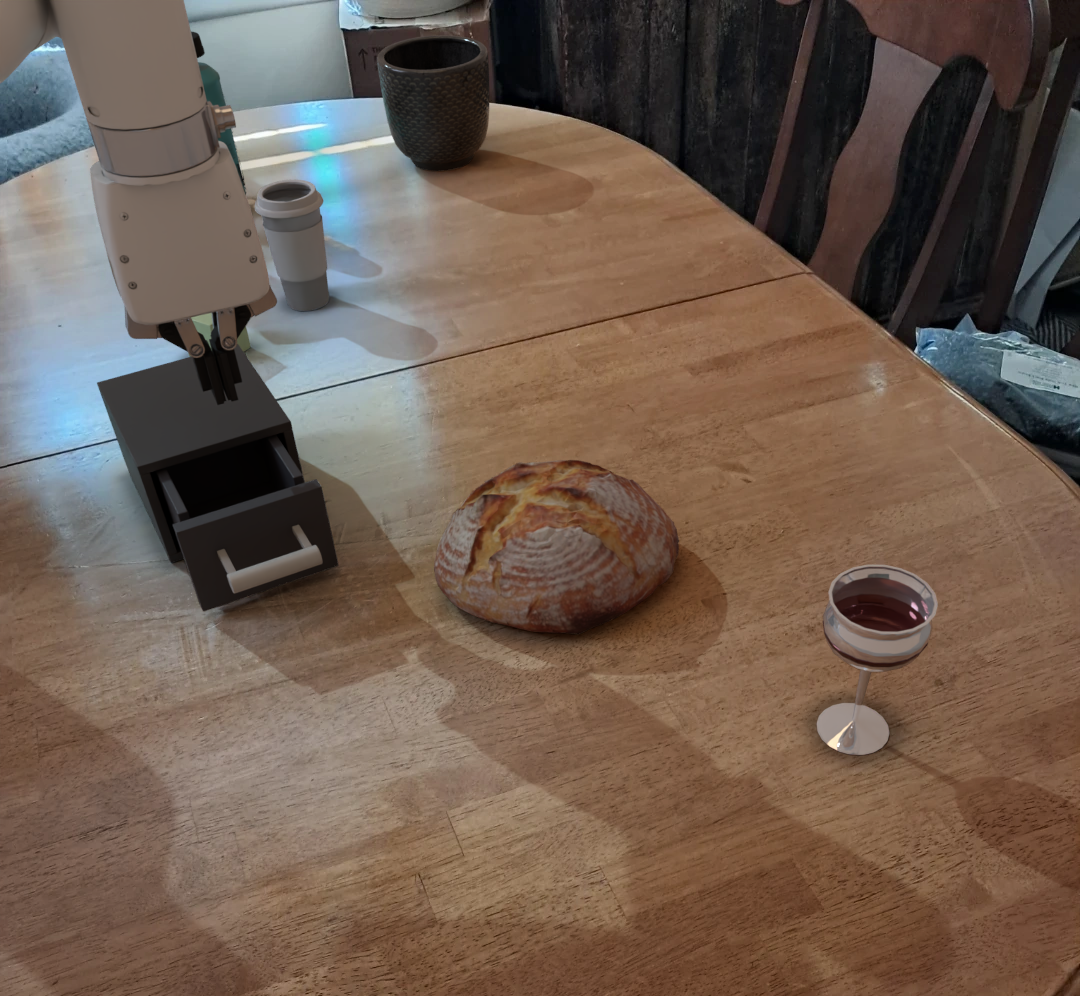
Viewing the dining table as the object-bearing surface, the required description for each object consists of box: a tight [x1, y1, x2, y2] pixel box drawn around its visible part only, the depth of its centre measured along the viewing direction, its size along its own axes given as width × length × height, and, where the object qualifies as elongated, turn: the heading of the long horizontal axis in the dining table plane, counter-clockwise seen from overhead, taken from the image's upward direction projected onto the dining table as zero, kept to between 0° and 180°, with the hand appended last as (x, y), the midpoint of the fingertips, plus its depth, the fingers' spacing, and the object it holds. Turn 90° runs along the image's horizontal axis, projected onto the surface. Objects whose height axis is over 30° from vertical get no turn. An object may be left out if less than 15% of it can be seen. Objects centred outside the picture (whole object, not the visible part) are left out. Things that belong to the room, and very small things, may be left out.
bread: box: [433, 459, 680, 635], centre depth 90 cm, size 16×20×10 cm
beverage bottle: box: [191, 30, 248, 196], centre depth 137 cm, size 6×7×20 cm
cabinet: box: [96, 344, 306, 564], centre depth 99 cm, size 15×13×10 cm
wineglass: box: [816, 564, 939, 756], centre depth 76 cm, size 7×7×12 cm
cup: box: [254, 179, 330, 312], centre depth 123 cm, size 7×7×12 cm
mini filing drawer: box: [152, 435, 339, 613], centre depth 92 cm, size 18×11×8 cm, turn 27°
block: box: [187, 313, 252, 357], centre depth 119 cm, size 5×5×5 cm
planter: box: [376, 34, 490, 172], centre depth 149 cm, size 14×14×13 cm
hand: (224, 393), depth 87 cm, fingers closed
